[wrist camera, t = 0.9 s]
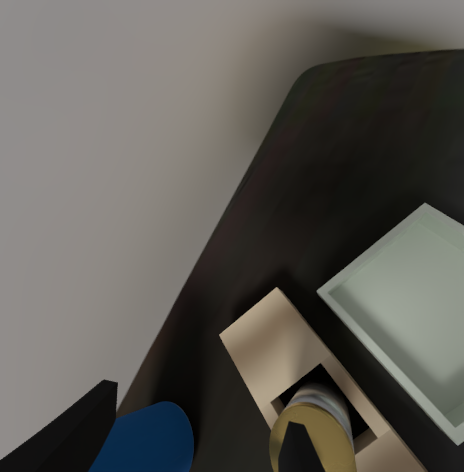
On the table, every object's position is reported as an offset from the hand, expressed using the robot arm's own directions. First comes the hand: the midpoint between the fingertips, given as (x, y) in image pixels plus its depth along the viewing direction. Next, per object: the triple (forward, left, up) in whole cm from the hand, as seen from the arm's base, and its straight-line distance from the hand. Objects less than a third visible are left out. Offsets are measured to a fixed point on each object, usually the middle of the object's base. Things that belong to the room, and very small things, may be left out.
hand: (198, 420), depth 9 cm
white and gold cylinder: (-4, -2, -13) cm, 14 cm away
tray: (-3, -13, -13) cm, 19 cm away
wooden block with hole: (-3, -2, -13) cm, 13 cm away
